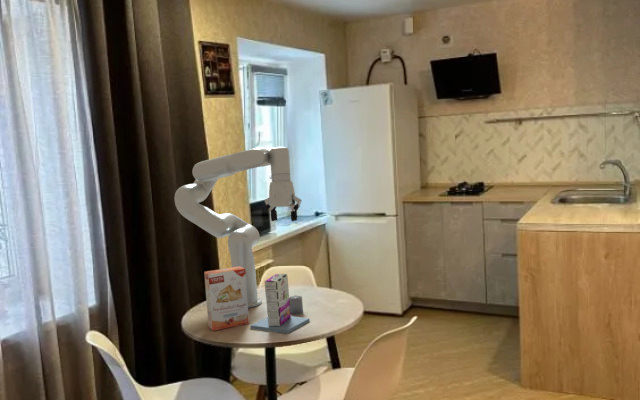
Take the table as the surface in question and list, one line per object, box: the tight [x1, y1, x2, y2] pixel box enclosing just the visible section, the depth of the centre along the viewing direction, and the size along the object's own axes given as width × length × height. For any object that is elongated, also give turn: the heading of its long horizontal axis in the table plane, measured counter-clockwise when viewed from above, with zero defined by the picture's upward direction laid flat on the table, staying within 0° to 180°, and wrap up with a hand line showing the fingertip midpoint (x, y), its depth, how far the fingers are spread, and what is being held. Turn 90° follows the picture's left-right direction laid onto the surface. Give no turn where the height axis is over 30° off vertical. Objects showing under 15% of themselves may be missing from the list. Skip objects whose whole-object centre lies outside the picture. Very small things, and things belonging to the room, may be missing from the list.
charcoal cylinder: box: [289, 295, 304, 316], centre depth 219 cm, size 5×5×6 cm
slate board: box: [250, 315, 311, 334], centre depth 205 cm, size 16×14×1 cm
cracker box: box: [203, 266, 250, 332], centre depth 208 cm, size 14×6×21 cm, turn 117°
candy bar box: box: [264, 273, 292, 326], centre depth 204 cm, size 11×5×16 cm, turn 164°
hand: (284, 220), depth 228 cm, fingers open, 9 cm apart
